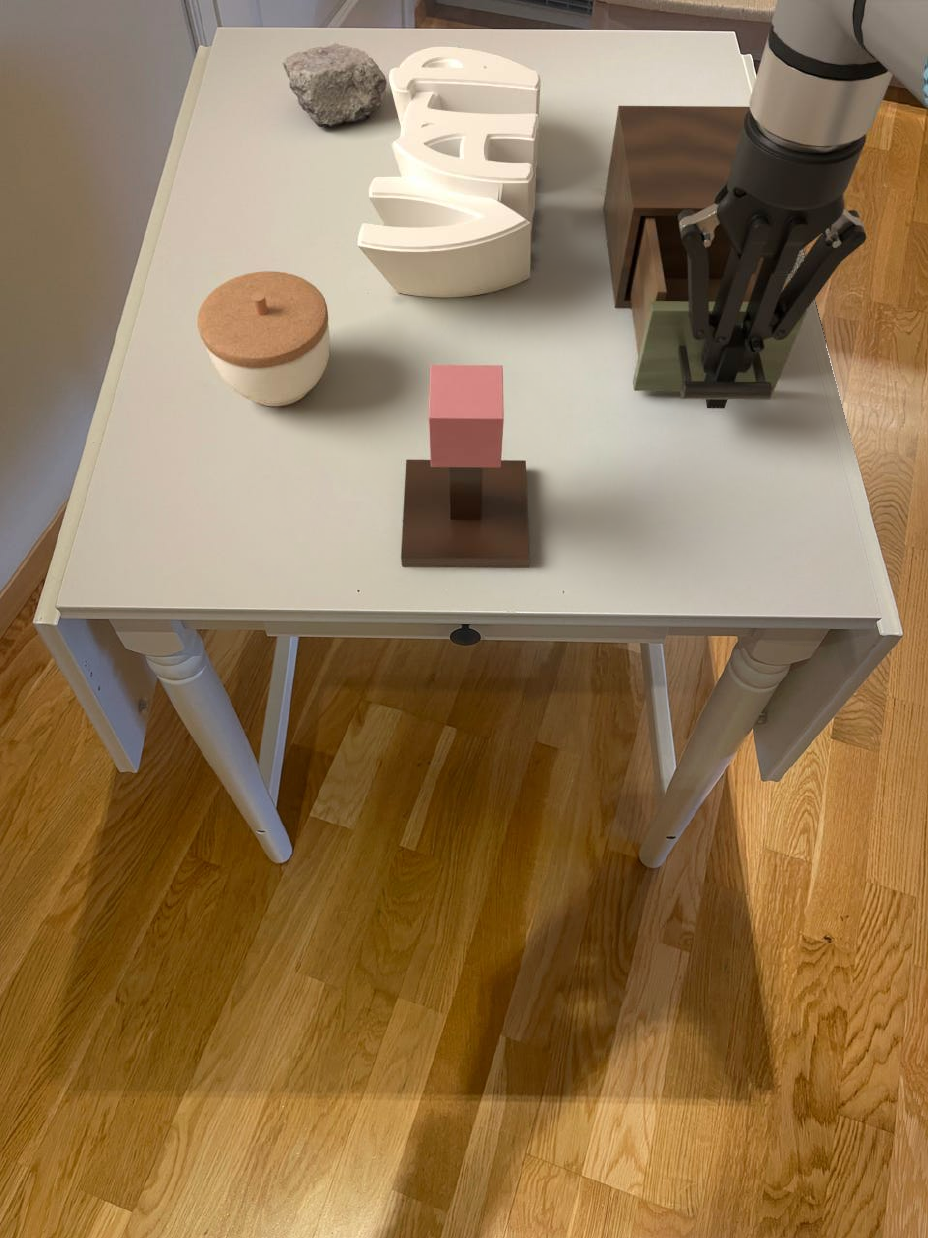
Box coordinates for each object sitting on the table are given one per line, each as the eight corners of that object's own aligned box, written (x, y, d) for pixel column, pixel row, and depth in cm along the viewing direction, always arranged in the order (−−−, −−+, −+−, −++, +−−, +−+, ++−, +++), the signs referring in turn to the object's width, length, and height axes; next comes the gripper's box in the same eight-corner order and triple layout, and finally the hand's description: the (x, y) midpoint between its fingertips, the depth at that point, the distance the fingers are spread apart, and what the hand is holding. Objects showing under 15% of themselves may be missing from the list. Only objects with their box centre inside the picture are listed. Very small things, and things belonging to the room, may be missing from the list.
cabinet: (755, 308, 85) (791, 208, 75) (614, 307, 85) (633, 207, 75) (732, 207, 92) (761, 106, 83) (602, 207, 92) (618, 105, 83)
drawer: (784, 439, 75) (821, 360, 67) (639, 438, 75) (659, 359, 67) (748, 283, 85) (776, 199, 77) (620, 282, 85) (635, 198, 78)
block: (500, 467, 63) (503, 418, 58) (430, 467, 63) (428, 417, 58) (499, 415, 65) (502, 364, 61) (432, 415, 65) (430, 364, 61)
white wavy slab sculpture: (520, 339, 82) (528, 240, 73) (348, 322, 83) (334, 223, 74) (552, 127, 100) (561, 26, 91) (410, 115, 101) (404, 14, 92)
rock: (391, 143, 102) (383, 72, 104) (389, 83, 94) (380, 8, 96) (293, 149, 101) (287, 77, 103) (282, 88, 93) (276, 12, 95)
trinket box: (353, 406, 78) (341, 321, 70) (235, 440, 76) (208, 357, 68) (318, 328, 83) (303, 241, 75) (206, 358, 81) (178, 271, 73)
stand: (528, 567, 69) (536, 495, 61) (401, 566, 69) (394, 494, 61) (525, 469, 74) (532, 391, 67) (406, 468, 74) (400, 390, 67)
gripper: (898, 86, 56) (782, 365, 77) (694, 85, 56) (633, 364, 77) (928, 156, 52) (798, 430, 73) (710, 154, 52) (641, 429, 73)
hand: (713, 396), depth 75 cm, fingers closed
